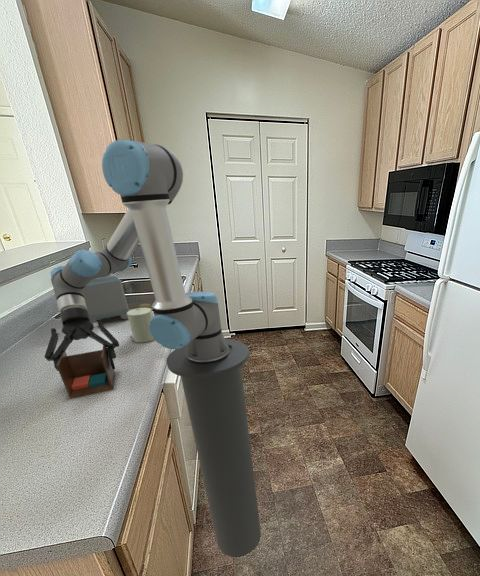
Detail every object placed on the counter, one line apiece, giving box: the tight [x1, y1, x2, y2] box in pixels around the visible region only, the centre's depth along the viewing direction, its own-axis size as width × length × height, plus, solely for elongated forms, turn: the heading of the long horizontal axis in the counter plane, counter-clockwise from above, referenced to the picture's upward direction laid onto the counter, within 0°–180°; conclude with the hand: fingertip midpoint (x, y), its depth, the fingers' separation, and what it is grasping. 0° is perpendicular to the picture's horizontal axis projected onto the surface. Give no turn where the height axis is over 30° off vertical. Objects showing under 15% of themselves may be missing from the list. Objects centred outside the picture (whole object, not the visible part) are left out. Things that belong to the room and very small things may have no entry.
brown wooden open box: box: [57, 344, 116, 399], centre depth 101 cm, size 12×11×11 cm
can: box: [127, 307, 155, 343], centre depth 134 cm, size 9×9×12 cm
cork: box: [138, 303, 154, 316], centre depth 143 cm, size 6×6×11 cm
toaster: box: [82, 273, 130, 323], centre depth 159 cm, size 19×33×20 cm, turn 38°
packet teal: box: [89, 373, 107, 388], centre depth 104 cm, size 4×6×1 cm
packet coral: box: [72, 375, 91, 390], centre depth 103 cm, size 4×6×1 cm
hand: (89, 373), depth 101 cm, fingers closed on brown wooden open box, 12 cm apart
